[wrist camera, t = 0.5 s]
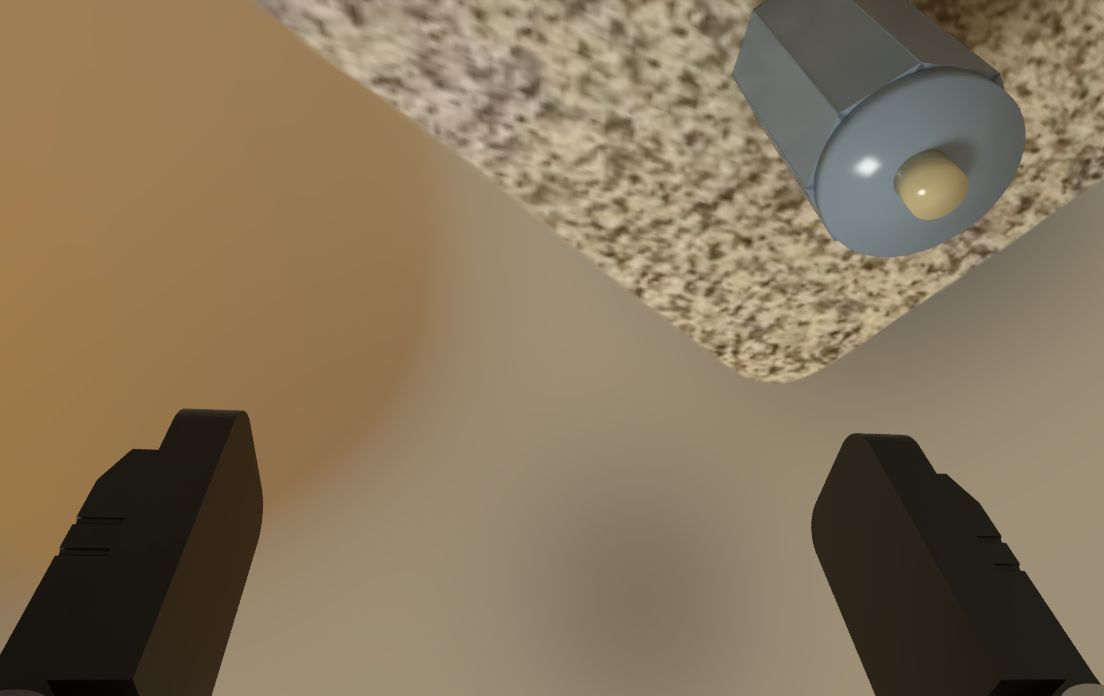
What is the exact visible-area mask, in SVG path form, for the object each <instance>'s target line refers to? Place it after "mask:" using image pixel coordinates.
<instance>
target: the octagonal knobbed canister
mask: <svg viewBox="0 0 1104 696" xmlns="http://www.w3.org/2000/svg"><path fill="white" fill-rule="evenodd" d="M732 76H733V78H734V80H735V81H736V83H737V84H738V86H739V88H740V90H741V92H742V93H743V95H744V97H745V99H746V100H747V102H748V104H749V106H750V107H751V109H752V111H753V113H754V114H755V116H756V118H757V120H758V122H759V124H760V125H761V127H762V129H763V130H764V132H765V133H766V135H767V136H768V138H769V140H770V141H771V143H772V144H773V146H774V147H775V149H776V151H777V152H778V154H779V155H780V157H781V158H782V160H783V162H784V163H785V165H786V166H787V168H788V169H789V171H790V173H791V174H792V176H793V177H794V179H795V180H796V182H797V184H798V185H799V187H800V188H801V190H802V191H803V193H804V195H805V196H806V198H807V199H808V201H809V202H810V204H811V206H812V207H813V209H814V210H815V212H816V213H817V215H818V217H819V218H820V220H821V221H822V223H823V224H824V226H825V228H826V229H827V231H828V232H829V234H830V235H831V237H832V239H833V240H834V241H839V242H840V243H842V244H843V245H845V246H846V247H847V248H849V249H851V250H853V251H856V252H858V253H861V254H865V255H869V256H876V257H896V256H904V255H909V254H914V253H918V252H921V251H925V250H927V249H930V248H932V247H935V246H937V245H940V244H942V243H944V242H946V241H948V240H950V239H951V238H953V237H955V236H957V235H958V234H960V233H961V232H963V231H964V230H966V229H967V228H969V227H970V226H971V225H973V224H974V223H975V222H976V221H977V220H979V219H980V218H981V217H982V216H983V215H984V214H985V213H986V212H987V211H988V210H989V209H990V208H991V207H992V206H993V205H994V204H995V203H996V202H997V201H998V199H999V198H1000V197H1001V196H1002V194H1003V193H1004V192H1005V190H1006V189H1007V187H1008V186H1009V184H1010V183H1011V181H1012V179H1013V177H1014V175H1015V174H1016V171H1017V169H1018V167H1019V164H1020V162H1021V158H1022V155H1023V151H1024V145H1025V125H1024V119H1023V116H1022V113H1021V111H1020V108H1019V107H1018V105H1017V104H1016V102H1015V101H1014V99H1013V98H1012V97H1011V96H1010V95H1009V94H1008V93H1007V92H1006V91H1005V90H1004V87H1003V84H1002V80H1001V77H1000V73H999V72H998V71H996V70H995V69H994V68H993V67H991V66H990V65H989V64H987V63H986V62H985V61H984V60H982V59H981V58H980V57H979V56H977V55H976V54H975V53H973V52H972V51H971V50H970V49H968V48H967V47H966V46H965V45H963V44H962V43H961V42H959V41H958V40H957V39H956V38H954V37H953V36H952V35H951V34H949V33H948V32H947V31H945V30H944V29H943V28H942V27H940V26H939V25H938V24H937V23H935V22H934V21H933V20H931V19H930V18H929V17H928V16H926V15H925V14H924V13H923V12H921V11H920V10H919V9H917V8H916V7H915V6H914V5H912V4H911V3H910V2H909V1H907V0H767V1H766V2H764V3H763V4H761V5H760V6H759V7H757V8H756V9H754V10H753V13H752V16H751V19H750V22H749V25H748V28H747V31H746V34H745V37H744V40H743V43H742V46H741V49H740V52H739V55H738V58H737V61H736V64H735V67H734V70H733V74H732Z"/></svg>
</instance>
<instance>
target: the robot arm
mask: <svg viewBox="0 0 1104 696" xmlns="http://www.w3.org/2000/svg"><path fill="white" fill-rule="evenodd" d="M262 514H263V494H262V487H261V482H260V476H259V470H258V465H257V459H256V454H255V448H254V442H253V437H252V430H251V425H250V421H249V417H248V415H247V413H246V412H245V411H239V410H238V411H237V410H209V409H182V410H180V411H179V412H178V413H177V414H176V416H175V417H174V419H173V421H172V423H171V425H170V427H169V429H168V432H167V433H166V436H165V438H164V440H163V442H162V444H161V446H160V448H159V450H148V449H132V450H131V451H130V452H128V453H127V454H126V455H125V456H124V457H123V458H122V459H120V460H119V461H118V462H117V463H116V464H115V465H114V466H113V467H111V468H110V469H109V470H108V471H107V472H106V473H104V474H103V475H102V476H101V477H100V478H99V479H98V480H97V481H96V483H95V485H94V486H93V488H92V490H91V492H90V493H89V495H88V497H87V499H86V501H85V502H84V504H83V506H82V508H81V510H80V512H79V513H78V515H77V522H76V524H73V525H72V526H71V528H70V530H69V531H68V533H67V535H66V537H65V539H64V540H63V542H62V544H61V546H60V552H59V555H58V556H55V557H54V558H53V560H52V562H51V564H50V566H49V568H48V569H47V571H46V573H45V575H44V577H43V578H42V580H41V582H40V584H39V586H38V587H37V589H36V591H35V593H34V595H33V596H32V598H31V600H30V602H29V604H28V605H27V607H26V609H25V611H24V613H23V615H22V616H21V618H20V620H19V622H18V623H17V626H16V627H15V629H14V631H13V633H12V634H11V636H10V638H9V640H8V642H7V644H6V645H5V647H4V649H3V651H2V652H1V654H0V696H212V692H213V689H214V686H215V682H216V679H217V676H218V672H219V669H220V666H221V663H222V659H223V656H224V653H225V649H226V646H227V643H228V639H229V636H230V633H231V629H232V626H233V623H234V619H235V616H236V613H237V610H238V606H239V603H240V600H241V596H242V593H243V589H244V586H245V583H246V579H247V576H248V573H249V570H250V566H251V563H252V559H253V556H254V553H255V549H256V546H257V543H258V539H259V535H260V530H261V524H262ZM811 531H812V539H813V544H814V548H815V551H816V554H817V556H818V558H819V561H820V563H821V566H822V568H823V571H824V573H825V575H826V578H827V580H828V582H829V585H830V587H831V590H832V592H833V595H834V597H835V599H836V602H837V604H838V607H839V609H840V611H841V614H842V616H843V619H844V621H845V623H846V626H847V628H848V631H849V633H850V636H851V638H852V640H853V643H854V645H855V648H856V650H857V652H858V655H859V657H860V660H861V662H862V664H863V667H864V669H865V671H866V674H867V676H868V679H869V681H870V684H871V686H872V688H873V691H874V693H875V696H1104V686H1103V685H1101V684H1100V682H1099V681H1098V680H1097V678H1096V677H1095V676H1094V674H1093V673H1092V671H1091V670H1090V668H1089V667H1088V666H1087V664H1086V662H1085V661H1084V659H1083V658H1082V656H1081V655H1080V653H1079V652H1078V651H1077V649H1076V647H1075V646H1074V645H1073V643H1072V642H1071V640H1070V638H1069V637H1068V635H1067V634H1066V632H1065V631H1064V630H1063V628H1062V626H1061V625H1060V623H1059V622H1058V620H1057V619H1056V618H1055V616H1054V614H1053V613H1052V611H1051V610H1050V608H1049V607H1048V605H1047V604H1046V602H1045V601H1044V599H1043V598H1042V596H1041V595H1040V593H1039V592H1038V590H1037V589H1036V587H1035V586H1034V584H1033V583H1032V581H1031V580H1030V578H1029V577H1028V575H1027V574H1026V572H1025V571H1021V570H1020V569H1019V565H1020V563H1019V562H1018V560H1017V559H1016V557H1015V556H1014V554H1013V553H1012V551H1011V550H1010V548H1009V547H1008V545H1007V544H1006V543H1002V542H1001V535H1000V533H999V532H998V530H997V529H996V527H995V526H994V524H993V523H992V521H991V520H990V518H989V517H988V515H987V514H986V512H985V511H984V509H983V508H982V506H981V505H980V503H979V502H978V501H976V500H975V499H974V498H973V497H972V496H971V495H970V494H969V493H967V492H966V491H965V490H964V489H963V488H962V487H961V486H959V485H958V484H957V483H956V482H955V481H954V480H952V479H951V478H950V477H949V476H948V475H947V474H937V473H936V472H935V470H934V469H933V467H932V465H931V464H930V462H929V461H928V459H927V458H926V456H925V454H924V453H923V451H922V450H921V448H920V446H919V445H918V444H917V442H916V441H915V440H914V439H913V438H911V437H910V436H907V435H891V434H862V433H854V434H851V435H849V436H848V437H847V438H846V439H845V441H844V442H843V444H842V446H841V449H840V451H839V453H838V455H837V458H836V460H835V462H834V464H833V466H832V469H831V471H830V473H829V475H828V477H827V479H826V482H825V484H824V486H823V488H822V491H821V493H820V495H819V497H818V499H817V501H816V504H815V506H814V510H813V513H812V522H811Z"/></svg>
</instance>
